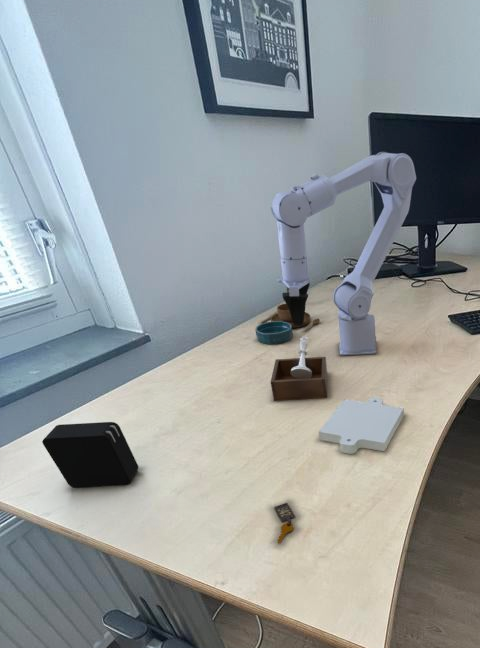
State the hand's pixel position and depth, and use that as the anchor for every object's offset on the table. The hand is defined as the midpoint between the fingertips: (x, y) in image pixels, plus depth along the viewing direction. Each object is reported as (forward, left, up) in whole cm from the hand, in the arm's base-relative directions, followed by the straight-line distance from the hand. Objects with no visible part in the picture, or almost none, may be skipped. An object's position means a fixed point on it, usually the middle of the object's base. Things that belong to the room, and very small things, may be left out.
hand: (299, 319), depth 104 cm
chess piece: (0, +13, -8) cm, 16 cm away
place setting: (+4, -32, -11) cm, 34 cm away
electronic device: (+32, +45, -11) cm, 56 cm away
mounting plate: (-13, +34, -11) cm, 38 cm away
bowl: (+9, -16, -10) cm, 21 cm away
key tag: (+1, +59, -11) cm, 60 cm away
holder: (0, +15, -10) cm, 18 cm away
